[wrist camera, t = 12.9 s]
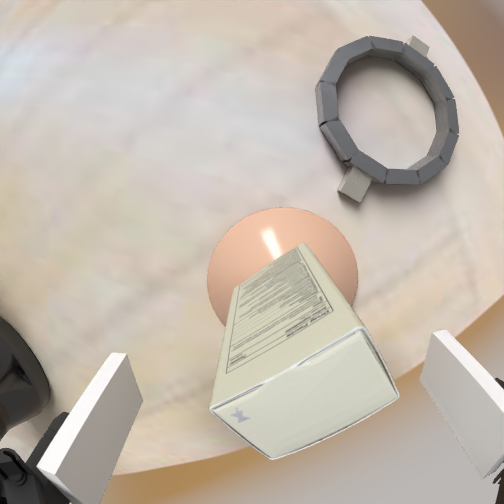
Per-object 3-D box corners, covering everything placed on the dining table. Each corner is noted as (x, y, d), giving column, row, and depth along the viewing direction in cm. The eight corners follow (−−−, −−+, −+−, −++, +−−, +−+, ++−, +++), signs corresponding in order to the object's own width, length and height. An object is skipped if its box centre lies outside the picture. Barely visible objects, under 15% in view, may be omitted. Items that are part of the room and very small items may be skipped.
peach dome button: (308, 363, 23) (309, 367, 23) (187, 310, 22) (185, 314, 22) (381, 250, 20) (384, 253, 20) (249, 179, 20) (248, 179, 19)
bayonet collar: (403, 231, 20) (414, 236, 18) (278, 158, 19) (279, 156, 17) (464, 84, 16) (476, 80, 15) (358, 9, 15) (364, -1, 14)
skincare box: (265, 330, 22) (265, 466, 10) (231, 286, 21) (198, 412, 9) (338, 285, 21) (406, 400, 9) (307, 236, 20) (365, 326, 8)
